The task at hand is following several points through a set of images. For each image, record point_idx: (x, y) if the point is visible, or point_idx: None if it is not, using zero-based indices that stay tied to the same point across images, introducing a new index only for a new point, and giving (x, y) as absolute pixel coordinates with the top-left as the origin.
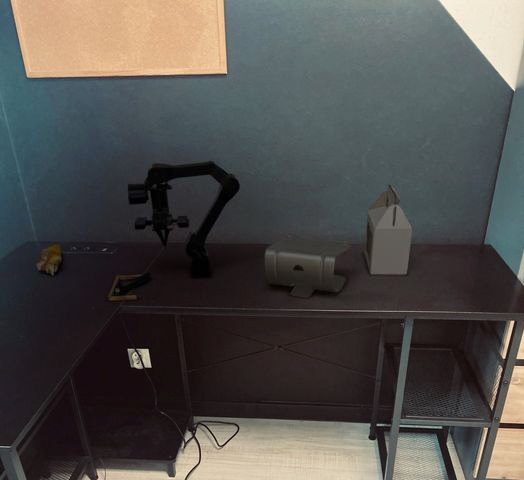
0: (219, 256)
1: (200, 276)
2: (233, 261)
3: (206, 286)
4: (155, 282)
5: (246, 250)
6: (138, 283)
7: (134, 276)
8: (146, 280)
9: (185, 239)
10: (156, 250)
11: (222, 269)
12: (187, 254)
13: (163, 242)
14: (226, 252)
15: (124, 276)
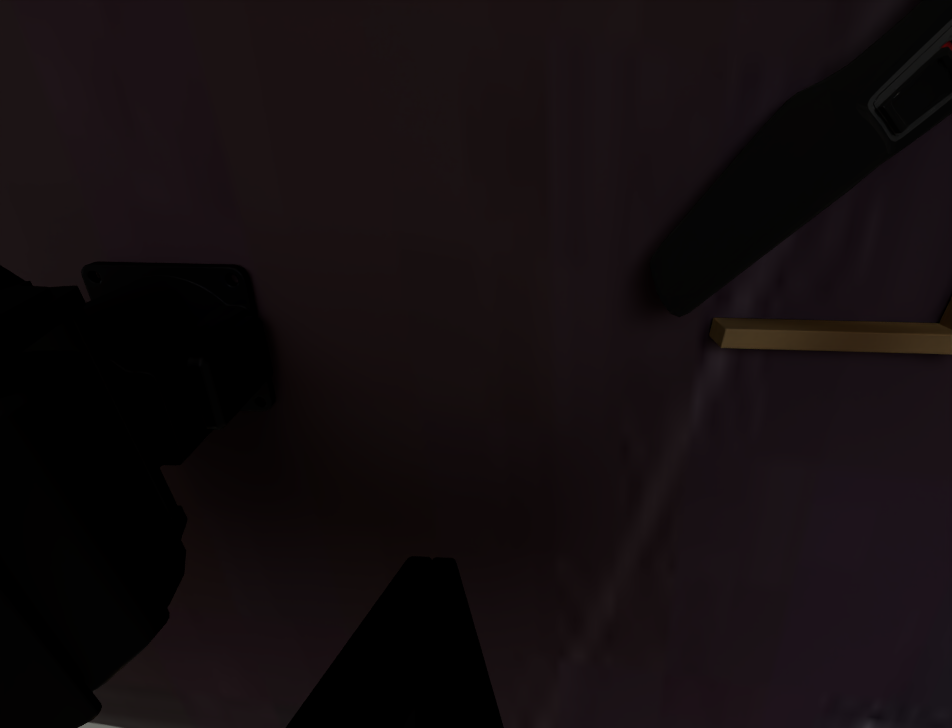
0: None
1: (166, 265)
2: None
3: (32, 12)
4: (597, 207)
5: None
6: (809, 95)
7: (806, 328)
8: (698, 201)
9: (76, 707)
10: (582, 721)
11: None
12: (87, 376)
13: (440, 629)
14: None
15: (911, 334)
